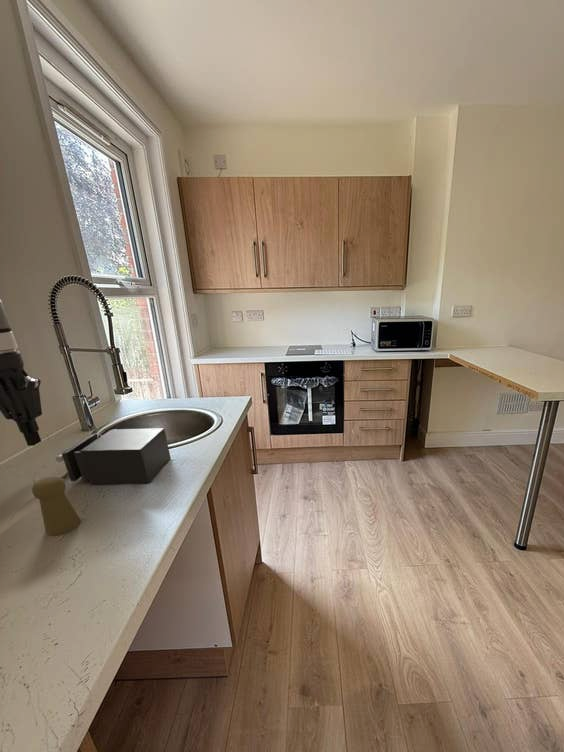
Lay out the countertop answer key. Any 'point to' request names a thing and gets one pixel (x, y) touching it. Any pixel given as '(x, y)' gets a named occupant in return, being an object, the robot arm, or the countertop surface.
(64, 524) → the cork
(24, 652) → the countertop surface
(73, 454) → the drawer
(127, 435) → the cabinet
